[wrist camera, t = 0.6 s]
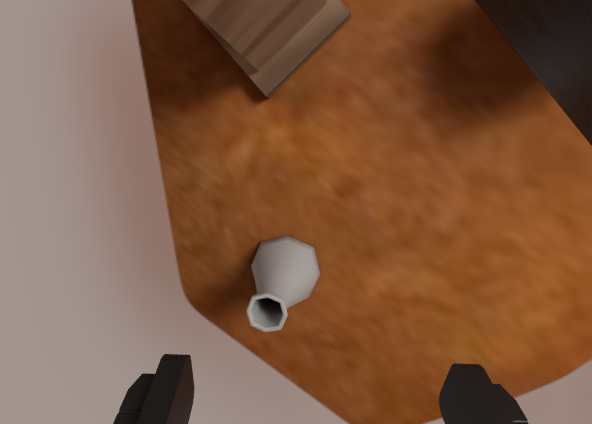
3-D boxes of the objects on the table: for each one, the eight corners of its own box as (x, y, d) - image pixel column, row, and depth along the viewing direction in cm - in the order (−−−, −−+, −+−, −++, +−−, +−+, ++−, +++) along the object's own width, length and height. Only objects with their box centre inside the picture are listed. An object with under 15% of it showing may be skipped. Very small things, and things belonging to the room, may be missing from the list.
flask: (250, 297, 38) (219, 350, 28) (253, 231, 36) (221, 263, 27) (317, 305, 37) (309, 362, 27) (323, 238, 36) (317, 274, 26)
